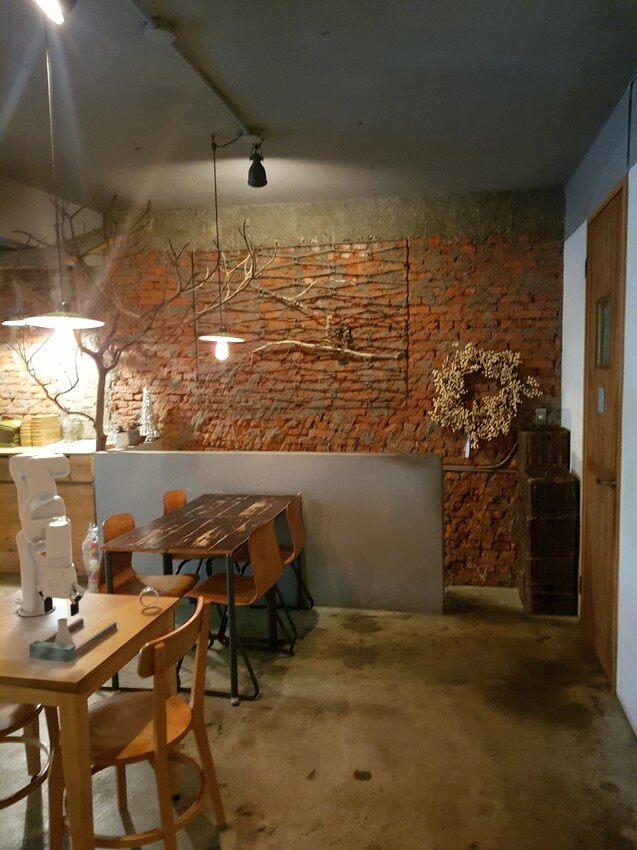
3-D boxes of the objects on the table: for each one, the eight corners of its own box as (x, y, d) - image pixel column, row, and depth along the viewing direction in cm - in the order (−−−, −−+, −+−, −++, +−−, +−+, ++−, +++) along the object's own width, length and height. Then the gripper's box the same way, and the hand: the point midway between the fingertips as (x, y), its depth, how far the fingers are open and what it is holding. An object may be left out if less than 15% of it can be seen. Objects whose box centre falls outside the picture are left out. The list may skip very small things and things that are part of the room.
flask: (76, 643, 196) (75, 613, 195) (75, 652, 190) (74, 622, 189) (52, 647, 194) (50, 617, 193) (50, 656, 187) (49, 625, 186)
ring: (157, 604, 229) (157, 584, 229) (159, 607, 226) (158, 586, 226) (139, 607, 226) (138, 587, 226) (140, 610, 223) (139, 589, 223)
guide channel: (29, 657, 187) (29, 645, 186) (80, 625, 211) (80, 614, 211) (69, 662, 183) (68, 649, 183) (116, 628, 207) (116, 617, 207)
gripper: (27, 562, 188) (30, 614, 190) (75, 567, 183) (77, 620, 185) (44, 554, 195) (46, 605, 197) (90, 559, 191) (92, 611, 192)
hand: (61, 612), depth 191 cm, fingers open, 9 cm apart
